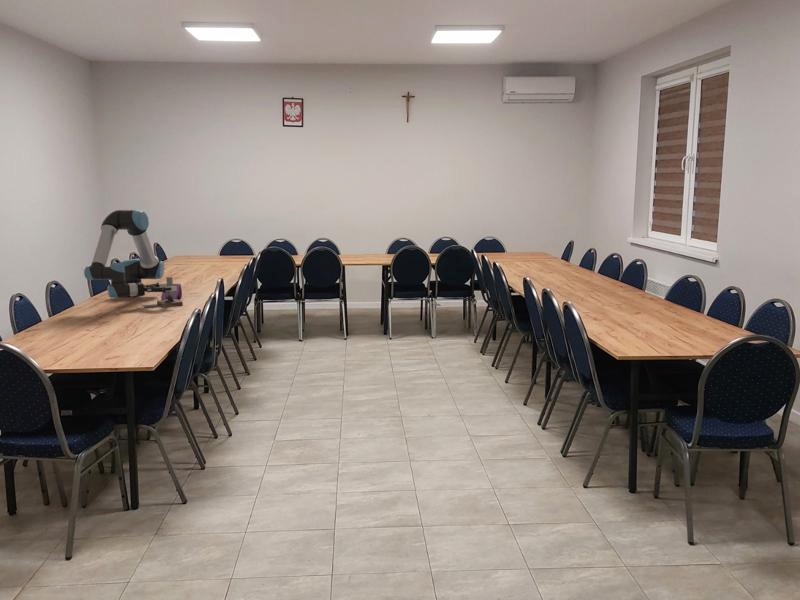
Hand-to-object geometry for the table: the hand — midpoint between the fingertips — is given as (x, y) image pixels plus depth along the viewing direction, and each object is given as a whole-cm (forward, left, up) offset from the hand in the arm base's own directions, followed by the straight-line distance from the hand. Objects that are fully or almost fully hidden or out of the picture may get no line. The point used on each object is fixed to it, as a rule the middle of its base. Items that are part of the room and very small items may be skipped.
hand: (173, 286), depth 433 cm
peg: (0, -2, -11) cm, 11 cm away
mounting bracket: (-17, +3, -12) cm, 21 cm away
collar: (0, -3, -11) cm, 11 cm away
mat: (-1, -13, -11) cm, 18 cm away
